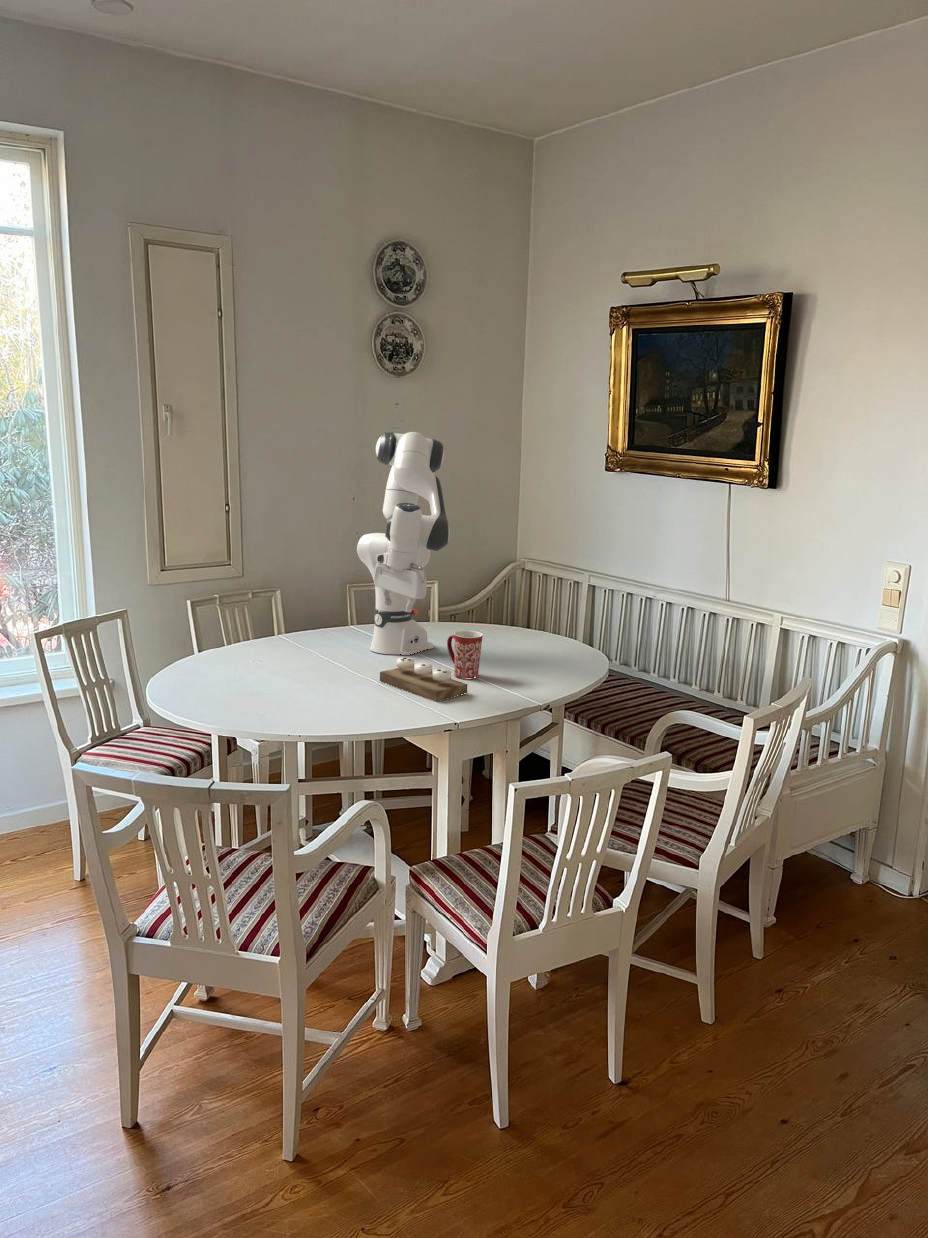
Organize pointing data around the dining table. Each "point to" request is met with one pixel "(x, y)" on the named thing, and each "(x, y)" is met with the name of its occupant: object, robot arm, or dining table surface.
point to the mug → (465, 653)
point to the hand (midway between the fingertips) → (397, 608)
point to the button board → (422, 684)
